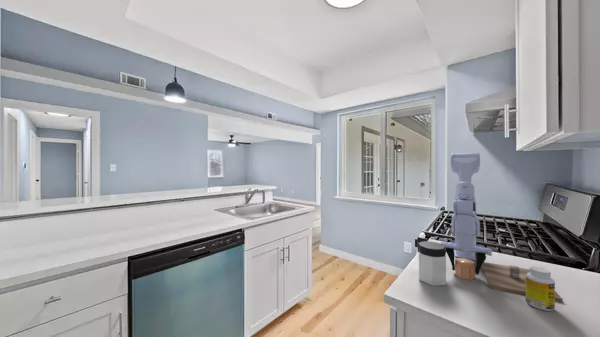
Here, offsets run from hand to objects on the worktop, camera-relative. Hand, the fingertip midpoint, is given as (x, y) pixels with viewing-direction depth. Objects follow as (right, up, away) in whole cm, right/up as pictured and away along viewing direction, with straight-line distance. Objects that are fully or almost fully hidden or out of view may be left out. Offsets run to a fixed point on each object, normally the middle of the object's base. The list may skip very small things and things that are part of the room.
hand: (464, 271), depth 81 cm
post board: (+14, -1, -4) cm, 15 cm away
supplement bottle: (+8, -2, -18) cm, 19 cm away
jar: (-13, -2, -3) cm, 14 cm away
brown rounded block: (0, -1, 0) cm, 1 cm away
